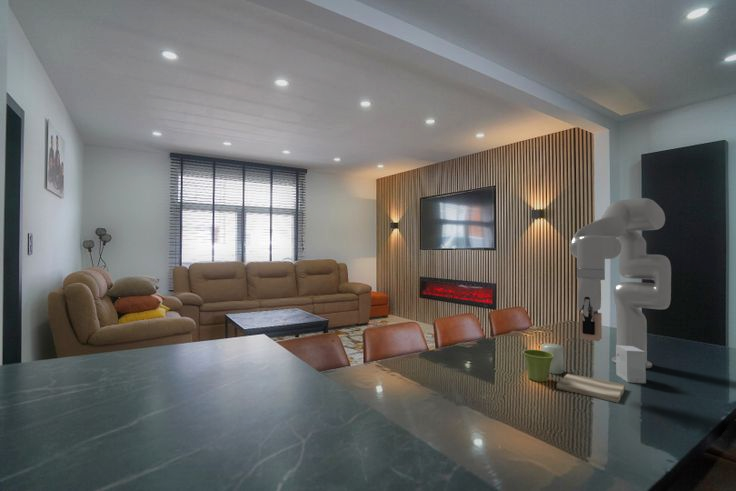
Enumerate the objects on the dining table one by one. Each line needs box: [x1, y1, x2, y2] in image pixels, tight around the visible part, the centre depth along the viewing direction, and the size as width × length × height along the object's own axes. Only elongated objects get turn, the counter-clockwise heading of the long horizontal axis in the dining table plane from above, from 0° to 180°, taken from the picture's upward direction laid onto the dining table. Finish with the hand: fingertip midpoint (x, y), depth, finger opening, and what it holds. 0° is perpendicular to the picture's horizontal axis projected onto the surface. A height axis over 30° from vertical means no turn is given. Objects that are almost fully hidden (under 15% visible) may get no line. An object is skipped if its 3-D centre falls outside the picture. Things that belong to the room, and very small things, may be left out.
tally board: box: [556, 372, 626, 404], centre depth 114 cm, size 14×16×2 cm
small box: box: [615, 344, 647, 384], centre depth 124 cm, size 8×6×10 cm
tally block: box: [579, 311, 603, 342], centre depth 114 cm, size 5×5×8 cm
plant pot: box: [522, 349, 554, 383], centre depth 123 cm, size 9×9×9 cm
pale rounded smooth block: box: [541, 343, 565, 375], centre depth 132 cm, size 7×7×9 cm
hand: (590, 332), depth 114 cm, fingers closed on tally block, 5 cm apart
